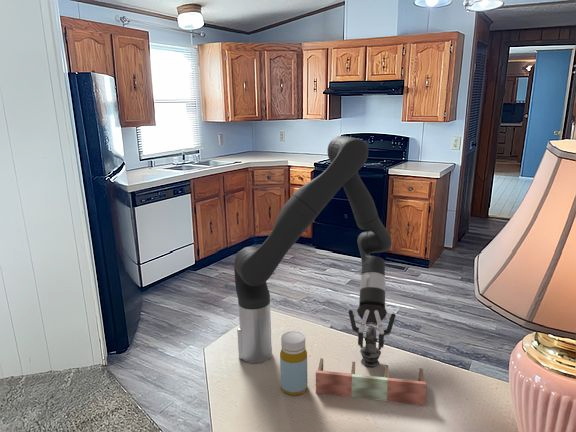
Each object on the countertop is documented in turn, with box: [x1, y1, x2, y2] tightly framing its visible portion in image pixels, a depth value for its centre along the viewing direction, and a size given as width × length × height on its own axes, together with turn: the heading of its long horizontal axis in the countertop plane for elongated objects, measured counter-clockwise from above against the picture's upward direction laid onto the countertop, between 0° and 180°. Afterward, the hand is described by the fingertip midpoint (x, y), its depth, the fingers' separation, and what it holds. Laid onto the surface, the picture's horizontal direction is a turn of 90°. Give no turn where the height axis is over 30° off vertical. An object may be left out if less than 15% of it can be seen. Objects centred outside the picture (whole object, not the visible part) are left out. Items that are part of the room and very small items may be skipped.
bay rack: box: [315, 357, 427, 406], centre depth 112 cm, size 27×10×6 cm, turn 78°
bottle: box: [279, 330, 308, 396], centre depth 111 cm, size 7×7×15 cm
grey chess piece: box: [359, 324, 382, 369], centre depth 122 cm, size 6×6×12 cm
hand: (370, 347), depth 120 cm, fingers open, 4 cm apart
